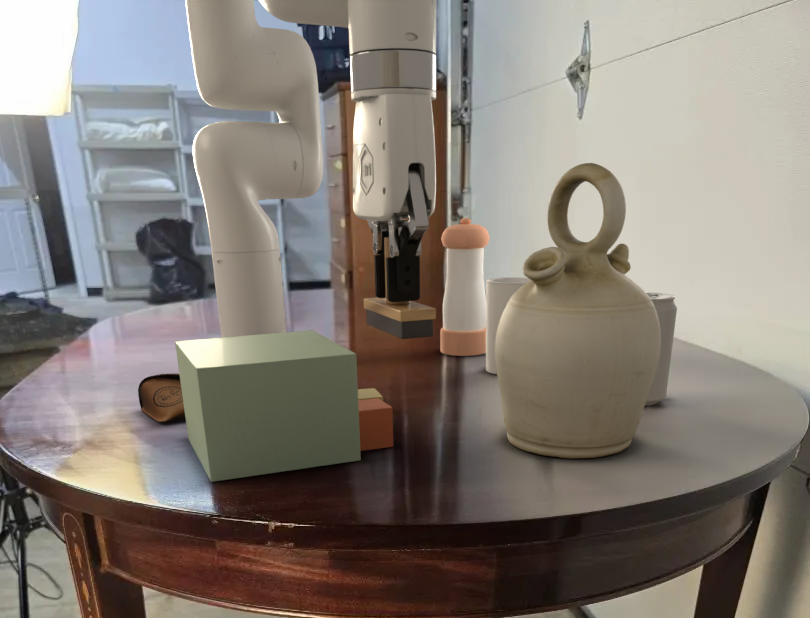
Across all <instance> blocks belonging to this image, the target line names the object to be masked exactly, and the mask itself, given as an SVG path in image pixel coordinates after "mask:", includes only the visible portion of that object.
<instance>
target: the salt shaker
mask: <svg viewBox="0 0 810 618" xmlns="http://www.w3.org/2000/svg"><path fill="white" fill-rule="evenodd" d="M459 223H460V224H451V225H449V226H447V227H446V228H445V229H444V231H443V232H442V233H441V238H440V240H441V243H442V246H443V247H444V248H447V249H446V277H445V278H446V279H445V286H444V292H443V300H442V326H441V328H440V332H439V333H440V334H439V336H440V337H439V338H440V340H439V342H440V343H439V345H440V348H439V349H440V353H441V354H443V355H448V356H455V357H456V356H457V357H470V356H471V357H472V356H480V355H484V354H486V288H485V282H484V258H485V257H484V255H485V249H484V248H485V247H487V246H488V244H489V242H490V239H491V238H490V234H489V232H488V230H487V228H486V227H484V226H483V225H481V224H476V223H475V224H474V223H472V220H471V218H469V217H462V218H461V219H460V221H459Z"/></svg>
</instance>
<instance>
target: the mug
mask: <svg viewBox="0 0 810 618" xmlns="http://www.w3.org/2000/svg"><path fill="white" fill-rule="evenodd" d="M530 280H531V279H529V278H528V277H521V276H520V277H518V276H517V277H516V276H508V277H507V276H506V277H493V278H488V279H486V288H485V297H486V324H485V327H486V353H485V370H486V372H487V373H488V374H493V375H497V369H496V358H495V341H496V334H497V329H498V325H499V322H500V319H501V316H502V314H503V311H504V309H505V308H506V306H507V303H508V301H509V300H510V298H511V297H512V295H513V294H514V293H515V292H516V291H517V290H518V289H520V288H521V287H522V286H523V285H524V284H526V283H527V282H528V281H530Z"/></svg>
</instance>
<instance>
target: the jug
mask: <svg viewBox="0 0 810 618" xmlns="http://www.w3.org/2000/svg"><path fill="white" fill-rule="evenodd" d="M584 182H587V183H589V184H591V185H592V186H593V187H594V188H595V190H597V191H598V193H599V195H600V199H601V203H602V211H603V214H602V215H603V217H602V223H601V226H600V229H599V230H598V233H597V234H596V235H595V237H594V238H592V239H591V240H589V241H582V240H579V239H578V238H577V237H575V235H574V234H573V233H572V231H571V228H570V225H569V218H568V217H569V215H568V213H569V206H570V202H571V199H572V197H573V194H574V193H575V191H576V190H577V188H578V187H580V185H581V184H583V183H584ZM626 214H627V204H626V196H625V192H624V190H623V186H622V185H621V182H620V181H619V180H618V178H617V177H616V176H615V175H614V173H613V172H611V170H609V169H608V168H606V167H605V166H602V165H600V164H598V163H595V162H594V163H593V162H586V163H580V164H578V165H575V166H573V167H572V168H570V169H569V170H567V171H566V172H565V173H564V174H563V175H562V176H561V177H560V179H558V181H557V182H556V184H555V185H554V187H553V189H552V191H551V194H550V196H549V201H548V205H547V213H546V219H547V220H546V221H547V229H548V232H549V235H550V238H551V240H552V241H553V243H554V245H555V246H549V247H545V248H541V249H539V250H536V251H534V252H533V253H532V254H530V255H529V256H528V257H527V258H526V259H525V261H524V263H523V265H522V273H523V276H525V278H529V279H531V280H530V281H528V282H527V283H526V284H524V285H523V286H522V287H521V288H520V289H518V290H517V291H516V292H515V293H514V294H513V295H512V297H511V298H510V300H509V301H508V303H507V306H506V308H505V309H504V311H503V314H502V316H501V319H500V322H499V325H498V329H497V334H496V341H495V358H496V369H497V374H496V375H497V384H498V389H499V394H500V401H501V411H502V419H503V423H504V426H505V428H506V437H507V440H508V442H509V443H510V444H511V445H512V446H514V447H515V448H517V449H520V450H522V451H525V452H528V453H533V454H535V455H539V456H545V457H555V458H561V459H569V460H572V459H596V458H601V457H607V456H612V455H614V454H618V453H620V452H622V451H624V450H626V449H627V448H629V446H630V445H631V443H632V441H633V437H634V436H635V434H636V432H637V429H638V426H639V425H640V421H641V418H642V415H643V412H644V408H645V407H646V406H645V403H646V400H647V397H648V395H649V392H650V389H651V385H652V382H653V379H654V376H655V372H656V369H657V365H658V362H659V357H660V349H661V330H660V323H659V318H658V315H657V312H656V310H655V307H654V304H653V302H652V300H651V299H650V297H649V296H648V295H647V294H646V293H647V292H646V291H645V290H644V289H643V288H642V287H641V286H640V285H639V284H637V283H636V282H635V281H634V280H633V279H631V277H628V275H626V274H627V273H628V272H629V271H630V270H631V269H632V268H631V263H630V261H629V258H630V257H629V256H630V250H629V246H628V245H627V244H625V243H619V244H617V245H616V246H615V247H614V248H613V246H614V245H615V244H616V242H617V241H618V239H619V238H620V235H621V233H622V231H623V228H624V225H625V220H626ZM611 248H613V249H611ZM610 249H611V251H610V252H609V250H610Z"/></svg>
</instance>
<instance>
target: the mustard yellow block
mask: <svg viewBox="0 0 810 618" xmlns="http://www.w3.org/2000/svg"><path fill="white" fill-rule="evenodd" d="M376 398H379V399H380V400H382V401H383V402H384V397H383V395H382V394H381V393H380V392H379V391H378V390H377V389H376V388H375V387H371V388H369V387H368V388H358V400H367V399H376Z"/></svg>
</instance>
